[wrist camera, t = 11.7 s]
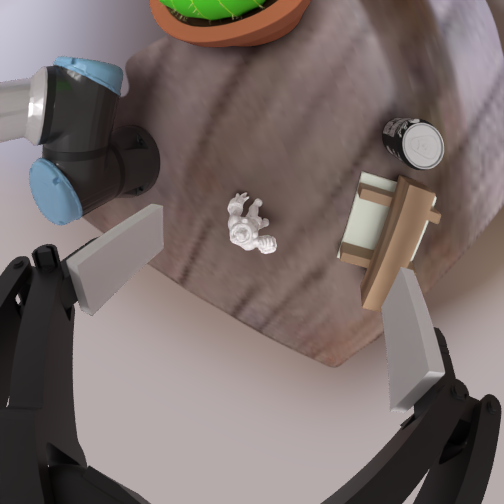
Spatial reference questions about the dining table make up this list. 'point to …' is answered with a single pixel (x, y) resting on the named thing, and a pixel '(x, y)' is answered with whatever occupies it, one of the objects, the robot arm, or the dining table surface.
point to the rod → (396, 240)
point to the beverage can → (414, 142)
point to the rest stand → (371, 220)
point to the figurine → (248, 226)
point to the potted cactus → (228, 20)
